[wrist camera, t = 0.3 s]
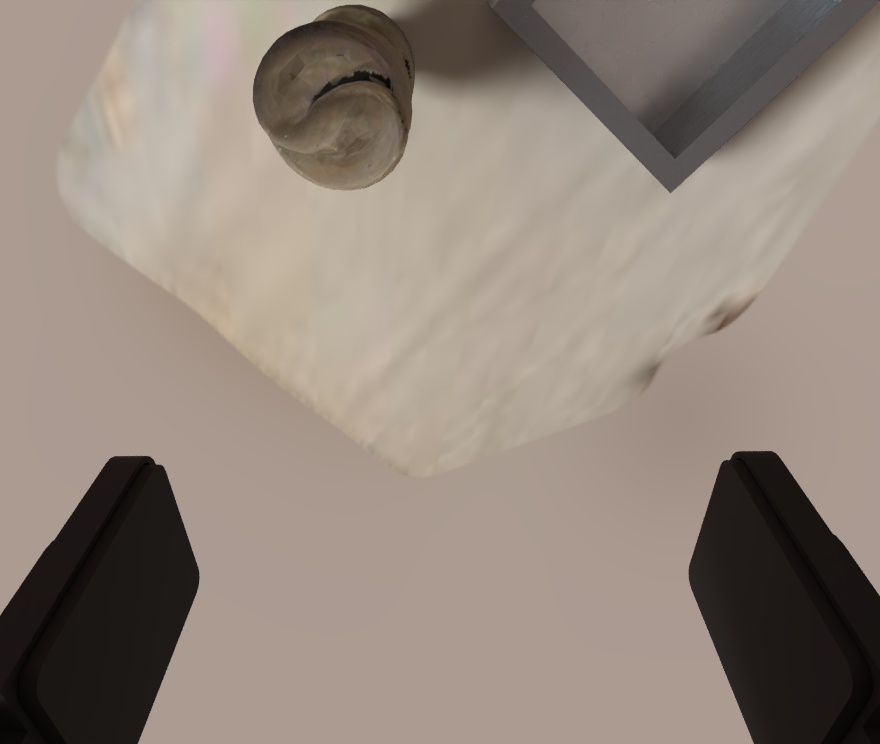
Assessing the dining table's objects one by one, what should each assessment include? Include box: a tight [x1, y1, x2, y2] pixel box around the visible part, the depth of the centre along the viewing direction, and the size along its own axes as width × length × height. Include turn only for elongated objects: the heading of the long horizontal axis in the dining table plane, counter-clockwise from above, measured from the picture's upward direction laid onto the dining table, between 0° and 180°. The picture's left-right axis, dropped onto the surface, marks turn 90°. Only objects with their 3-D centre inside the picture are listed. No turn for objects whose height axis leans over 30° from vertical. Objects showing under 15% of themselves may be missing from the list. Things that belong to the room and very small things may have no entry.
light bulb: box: [253, 5, 415, 190], centre depth 27 cm, size 6×6×15 cm
